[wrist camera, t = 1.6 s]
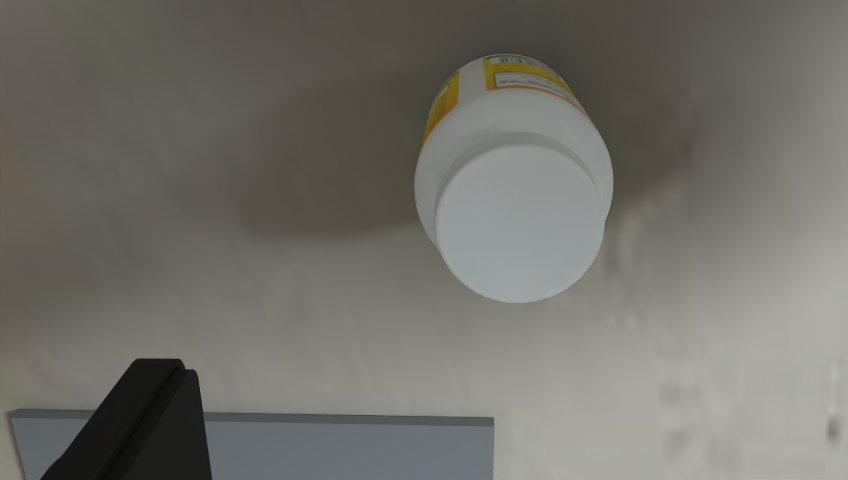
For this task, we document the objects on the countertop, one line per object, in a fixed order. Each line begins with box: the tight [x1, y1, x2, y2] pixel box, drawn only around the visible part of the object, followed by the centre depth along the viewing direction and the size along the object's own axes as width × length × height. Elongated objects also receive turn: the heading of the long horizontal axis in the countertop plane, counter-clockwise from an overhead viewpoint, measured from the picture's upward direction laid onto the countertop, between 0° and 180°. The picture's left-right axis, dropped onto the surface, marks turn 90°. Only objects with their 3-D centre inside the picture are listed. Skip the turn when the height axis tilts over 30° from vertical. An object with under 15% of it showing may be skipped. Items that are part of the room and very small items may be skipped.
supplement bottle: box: [414, 54, 613, 303], centre depth 22 cm, size 5×5×10 cm
